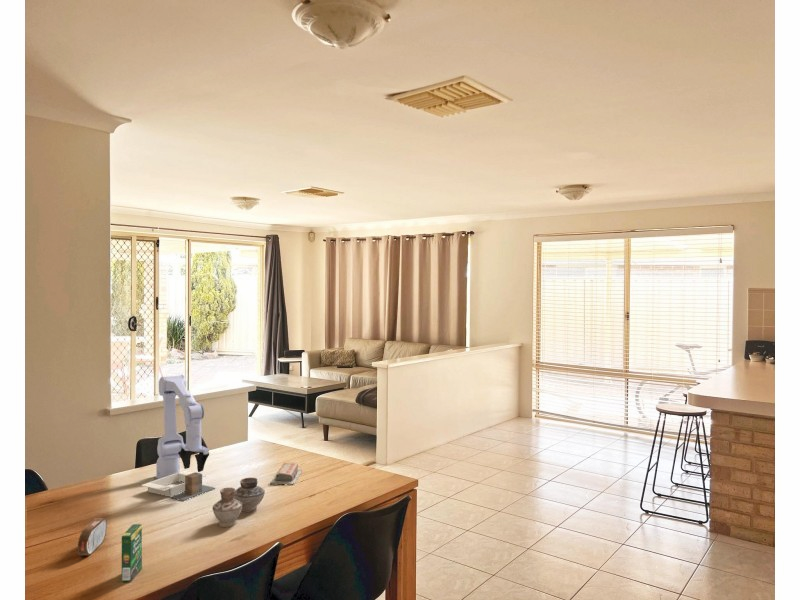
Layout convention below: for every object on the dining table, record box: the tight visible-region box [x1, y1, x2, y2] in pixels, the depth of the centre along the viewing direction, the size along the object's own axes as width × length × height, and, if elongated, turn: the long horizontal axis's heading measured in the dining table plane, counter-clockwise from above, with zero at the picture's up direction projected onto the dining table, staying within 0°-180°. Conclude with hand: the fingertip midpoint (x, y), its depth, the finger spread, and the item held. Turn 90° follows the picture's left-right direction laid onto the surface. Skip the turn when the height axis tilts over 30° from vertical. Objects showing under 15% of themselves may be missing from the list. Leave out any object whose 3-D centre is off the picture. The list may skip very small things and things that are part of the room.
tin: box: [77, 517, 108, 556], centre depth 177 cm, size 15×3×8 cm, turn 5°
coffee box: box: [121, 523, 143, 583], centre depth 161 cm, size 8×3×13 cm, turn 3°
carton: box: [140, 470, 207, 498], centre depth 232 cm, size 13×21×4 cm, turn 152°
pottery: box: [212, 477, 266, 528], centre depth 205 cm, size 11×25×12 cm, turn 166°
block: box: [185, 471, 203, 495], centre depth 227 cm, size 4×5×7 cm
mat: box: [170, 484, 216, 502], centre depth 227 cm, size 7×16×1 cm, turn 152°
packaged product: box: [270, 462, 303, 486], centre depth 247 cm, size 18×5×10 cm
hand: (193, 469), depth 227 cm, fingers open, 7 cm apart
